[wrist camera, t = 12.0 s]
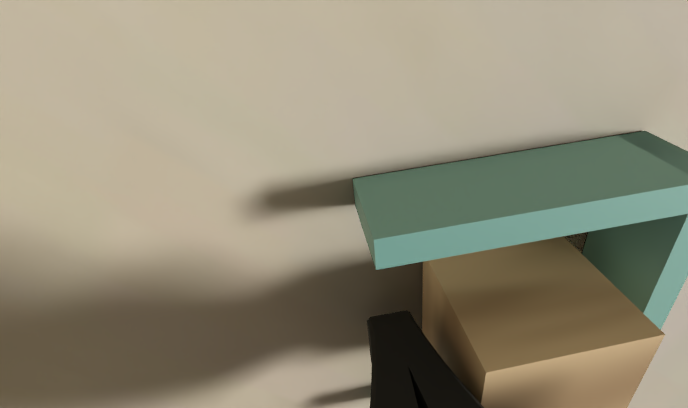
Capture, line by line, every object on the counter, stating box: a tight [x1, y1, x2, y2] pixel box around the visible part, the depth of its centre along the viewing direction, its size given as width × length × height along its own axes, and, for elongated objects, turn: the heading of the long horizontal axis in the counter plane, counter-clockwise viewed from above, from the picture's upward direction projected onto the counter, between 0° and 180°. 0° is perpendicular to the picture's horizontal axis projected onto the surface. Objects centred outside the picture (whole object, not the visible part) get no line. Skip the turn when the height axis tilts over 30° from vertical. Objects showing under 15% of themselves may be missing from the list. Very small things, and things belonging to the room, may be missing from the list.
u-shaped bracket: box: [353, 131, 688, 330], centre depth 12 cm, size 10×8×2 cm
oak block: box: [422, 236, 665, 408], centre depth 11 cm, size 4×4×4 cm
